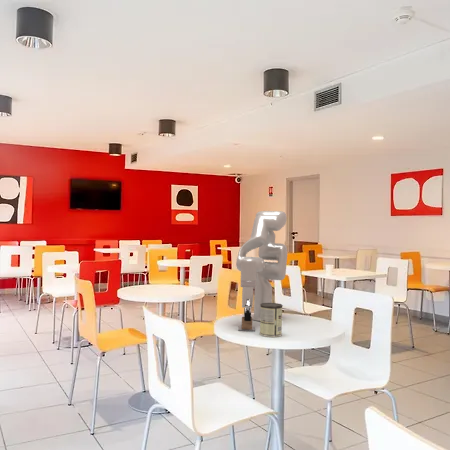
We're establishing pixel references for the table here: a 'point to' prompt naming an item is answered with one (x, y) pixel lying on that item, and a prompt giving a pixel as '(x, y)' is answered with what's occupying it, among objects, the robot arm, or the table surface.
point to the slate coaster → (245, 329)
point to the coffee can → (271, 319)
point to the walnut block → (246, 324)
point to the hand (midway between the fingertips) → (247, 318)
